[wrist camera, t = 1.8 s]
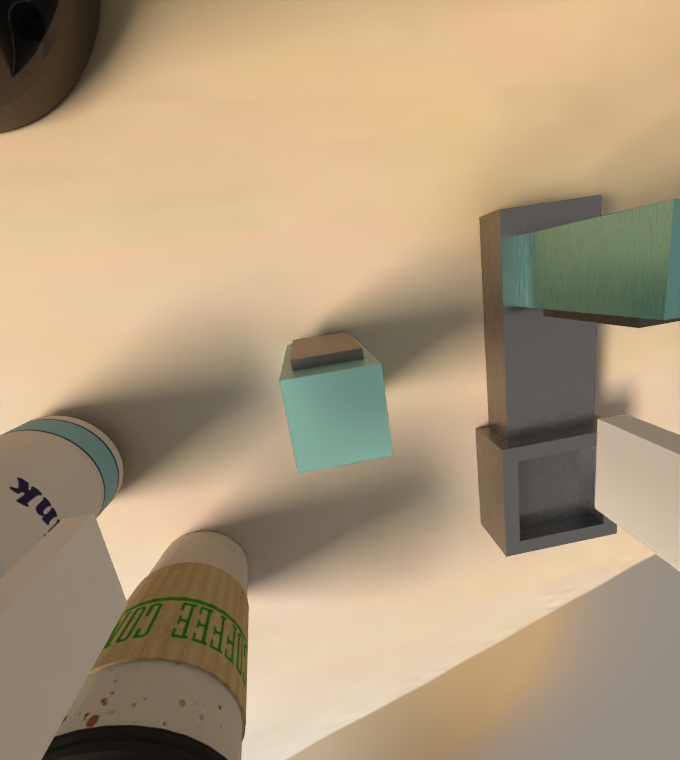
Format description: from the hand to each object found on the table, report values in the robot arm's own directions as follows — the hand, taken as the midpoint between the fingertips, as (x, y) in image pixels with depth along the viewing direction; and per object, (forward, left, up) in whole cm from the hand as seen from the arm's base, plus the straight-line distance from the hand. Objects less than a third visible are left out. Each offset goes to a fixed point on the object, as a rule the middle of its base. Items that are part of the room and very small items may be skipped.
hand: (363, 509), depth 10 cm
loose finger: (0, 0, -15) cm, 15 cm away
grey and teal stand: (+3, +14, -15) cm, 21 cm away
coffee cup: (+13, -11, -15) cm, 23 cm away
